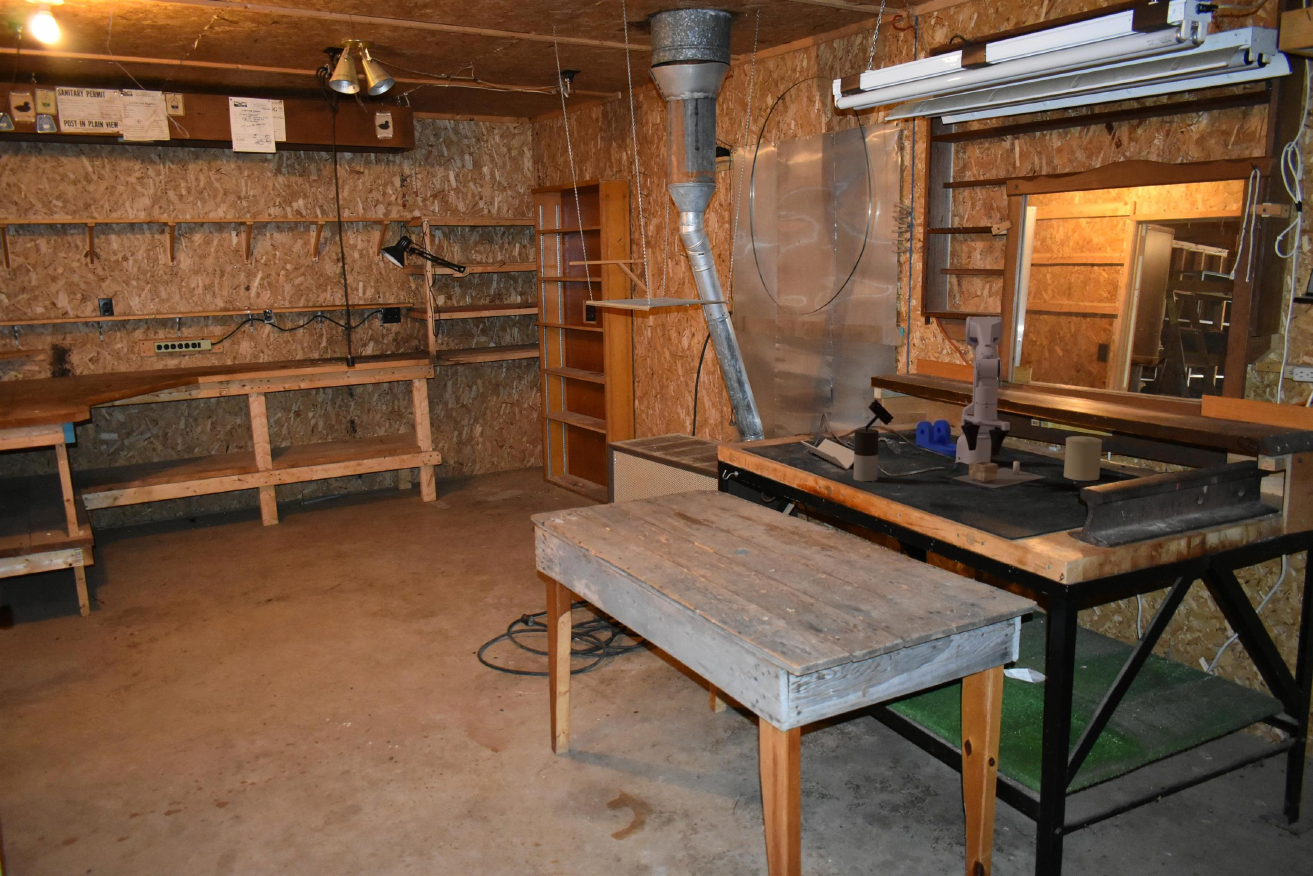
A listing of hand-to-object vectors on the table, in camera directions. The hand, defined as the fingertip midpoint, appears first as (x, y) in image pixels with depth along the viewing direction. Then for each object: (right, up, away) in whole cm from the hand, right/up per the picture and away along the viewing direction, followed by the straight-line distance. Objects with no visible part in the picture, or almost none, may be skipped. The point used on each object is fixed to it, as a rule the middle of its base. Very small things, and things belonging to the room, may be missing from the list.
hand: (983, 452), depth 250 cm
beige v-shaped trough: (-33, -3, +35) cm, 48 cm away
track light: (-28, -8, +11) cm, 31 cm away
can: (+29, -8, +4) cm, 30 cm away
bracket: (+3, 0, +46) cm, 46 cm away
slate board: (+6, -8, +5) cm, 11 cm away
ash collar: (0, -7, +1) cm, 7 cm away
